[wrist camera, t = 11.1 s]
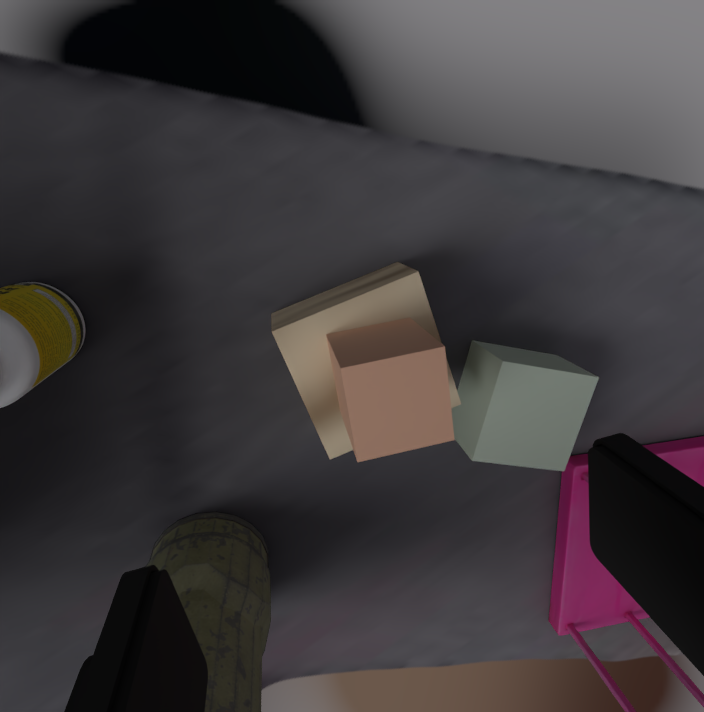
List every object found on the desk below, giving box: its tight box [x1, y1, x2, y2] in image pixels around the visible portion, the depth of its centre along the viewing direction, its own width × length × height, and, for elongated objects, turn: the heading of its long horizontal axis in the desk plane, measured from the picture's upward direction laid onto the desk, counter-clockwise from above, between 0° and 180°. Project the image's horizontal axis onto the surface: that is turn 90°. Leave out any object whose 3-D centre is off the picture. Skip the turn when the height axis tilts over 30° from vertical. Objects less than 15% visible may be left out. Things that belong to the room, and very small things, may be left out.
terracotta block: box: [326, 317, 454, 462], centre depth 26 cm, size 5×5×6 cm
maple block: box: [271, 262, 461, 460], centre depth 31 cm, size 9×9×5 cm
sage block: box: [452, 340, 599, 471], centre depth 34 cm, size 7×7×5 cm
